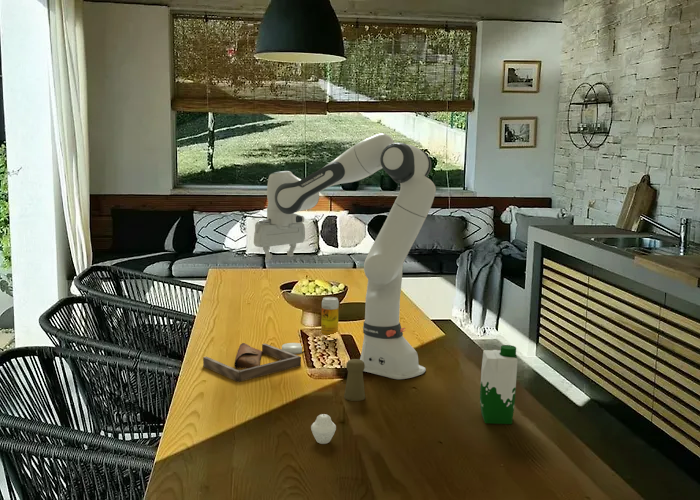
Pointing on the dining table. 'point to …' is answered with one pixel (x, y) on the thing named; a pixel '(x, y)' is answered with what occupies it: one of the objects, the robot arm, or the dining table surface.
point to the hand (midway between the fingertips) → (279, 257)
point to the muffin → (323, 429)
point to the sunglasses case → (247, 357)
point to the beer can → (329, 315)
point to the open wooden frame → (285, 363)
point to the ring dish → (292, 348)
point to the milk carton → (498, 385)
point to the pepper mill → (355, 380)
